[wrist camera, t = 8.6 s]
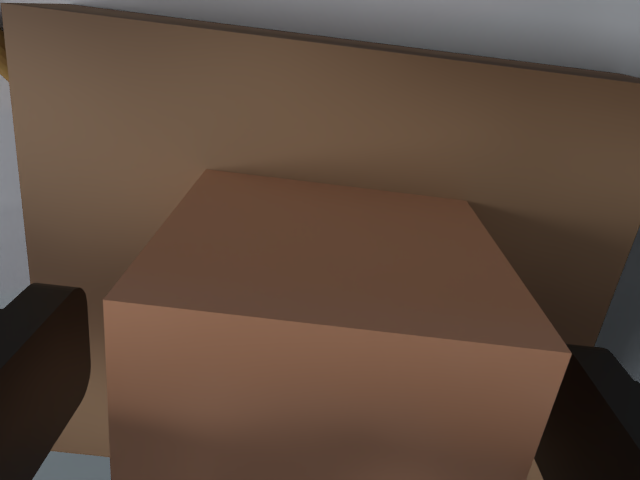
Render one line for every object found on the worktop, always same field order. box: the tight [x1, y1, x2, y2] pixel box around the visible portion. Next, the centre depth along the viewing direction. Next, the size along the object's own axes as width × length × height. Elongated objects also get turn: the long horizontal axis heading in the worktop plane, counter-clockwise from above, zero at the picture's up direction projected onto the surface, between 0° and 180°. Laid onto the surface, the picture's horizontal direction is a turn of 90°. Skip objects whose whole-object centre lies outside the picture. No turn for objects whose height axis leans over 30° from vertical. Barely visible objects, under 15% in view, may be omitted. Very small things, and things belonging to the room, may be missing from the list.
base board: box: [1, 3, 640, 480], centre depth 12 cm, size 10×12×2 cm
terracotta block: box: [103, 169, 572, 480], centre depth 9 cm, size 5×5×5 cm
